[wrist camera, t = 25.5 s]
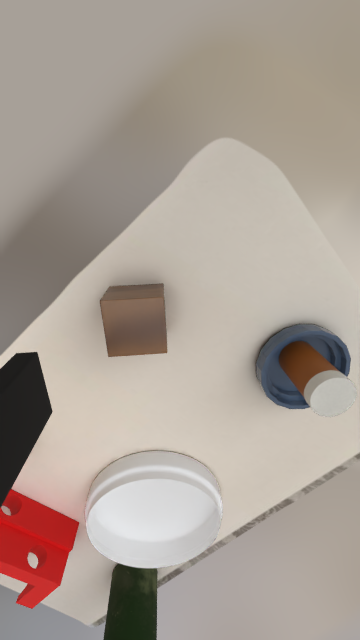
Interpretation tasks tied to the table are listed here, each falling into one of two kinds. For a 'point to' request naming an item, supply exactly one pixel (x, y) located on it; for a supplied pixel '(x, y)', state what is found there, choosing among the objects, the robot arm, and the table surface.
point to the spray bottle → (132, 604)
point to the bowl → (277, 380)
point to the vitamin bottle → (317, 379)
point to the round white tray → (153, 509)
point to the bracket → (34, 546)
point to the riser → (134, 320)
